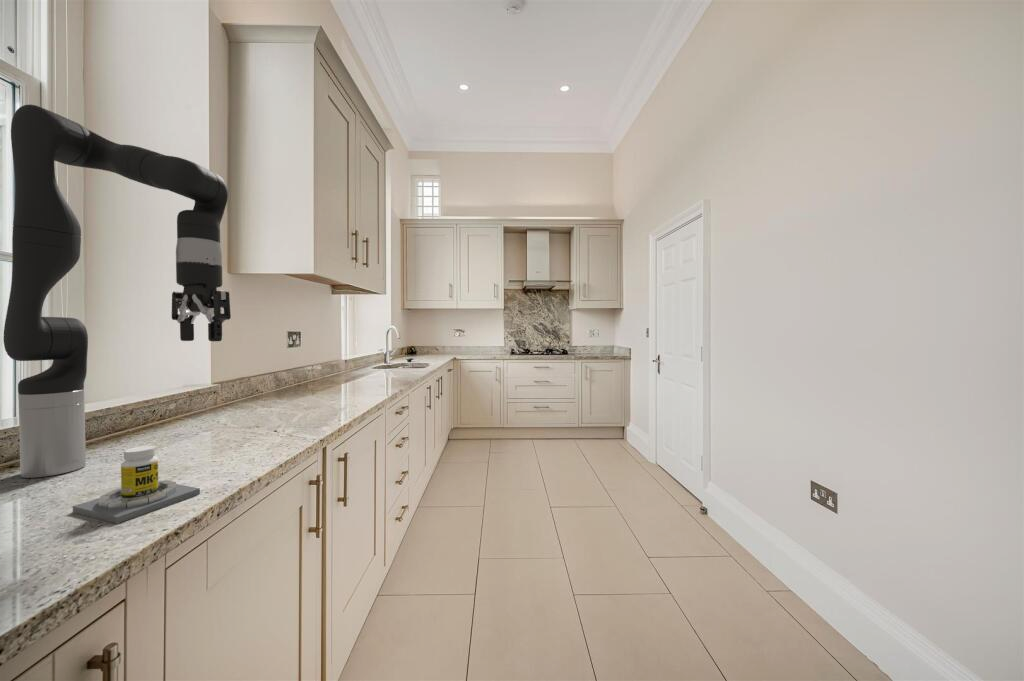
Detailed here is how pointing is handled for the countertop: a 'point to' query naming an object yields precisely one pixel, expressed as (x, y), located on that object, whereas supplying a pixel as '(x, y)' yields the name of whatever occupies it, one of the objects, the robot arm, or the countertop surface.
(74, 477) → the countertop surface
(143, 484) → the supplement bottle
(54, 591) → the countertop surface
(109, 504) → the ring collar
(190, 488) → the slate board
